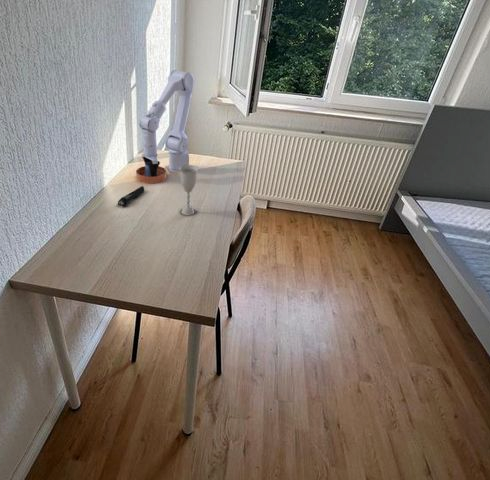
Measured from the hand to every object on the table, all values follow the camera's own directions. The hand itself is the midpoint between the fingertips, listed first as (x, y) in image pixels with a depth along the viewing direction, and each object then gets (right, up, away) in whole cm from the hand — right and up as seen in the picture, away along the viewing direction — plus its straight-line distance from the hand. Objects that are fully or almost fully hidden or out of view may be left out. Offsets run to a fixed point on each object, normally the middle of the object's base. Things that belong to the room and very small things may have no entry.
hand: (151, 173), depth 161 cm
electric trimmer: (-6, -14, -17) cm, 23 cm away
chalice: (+18, -20, -24) cm, 36 cm away
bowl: (0, -2, +1) cm, 2 cm away
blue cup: (0, -2, +1) cm, 2 cm away
